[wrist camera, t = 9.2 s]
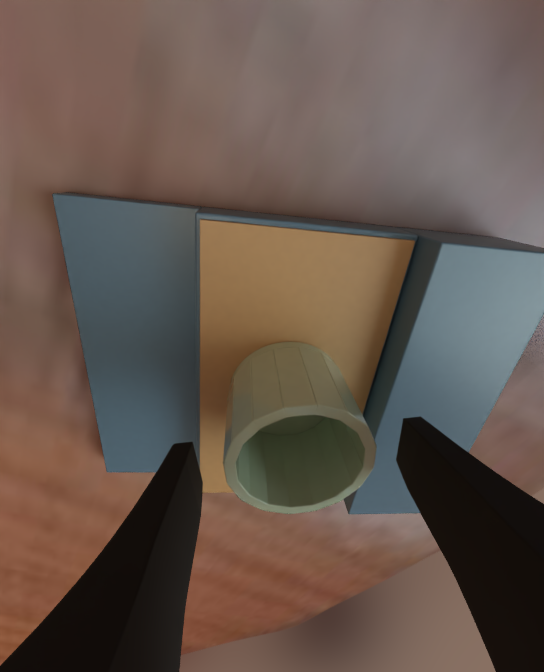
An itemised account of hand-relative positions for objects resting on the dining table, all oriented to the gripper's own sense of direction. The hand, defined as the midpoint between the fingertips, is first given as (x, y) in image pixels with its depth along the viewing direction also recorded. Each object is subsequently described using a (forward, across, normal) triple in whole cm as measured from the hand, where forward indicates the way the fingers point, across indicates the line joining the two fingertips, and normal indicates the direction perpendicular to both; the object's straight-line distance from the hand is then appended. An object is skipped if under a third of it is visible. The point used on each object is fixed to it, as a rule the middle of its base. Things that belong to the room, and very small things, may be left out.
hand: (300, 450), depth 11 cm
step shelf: (+6, 0, 0) cm, 6 cm away
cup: (+3, 0, 0) cm, 3 cm away
